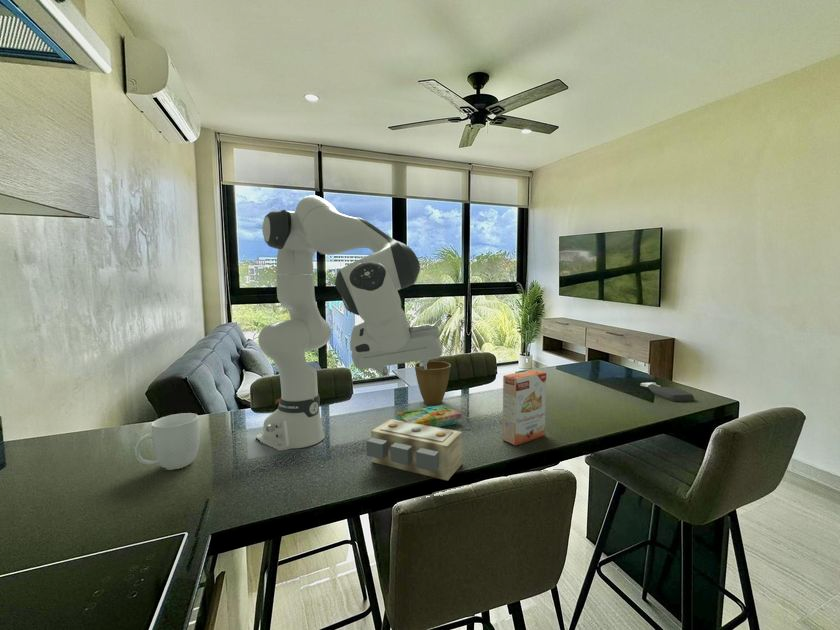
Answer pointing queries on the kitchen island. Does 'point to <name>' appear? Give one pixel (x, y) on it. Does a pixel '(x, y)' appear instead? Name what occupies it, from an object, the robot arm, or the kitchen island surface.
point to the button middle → (401, 453)
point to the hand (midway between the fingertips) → (404, 370)
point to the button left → (377, 448)
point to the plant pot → (433, 381)
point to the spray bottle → (669, 392)
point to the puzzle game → (431, 416)
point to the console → (422, 446)
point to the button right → (427, 459)
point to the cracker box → (524, 406)
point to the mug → (173, 440)
